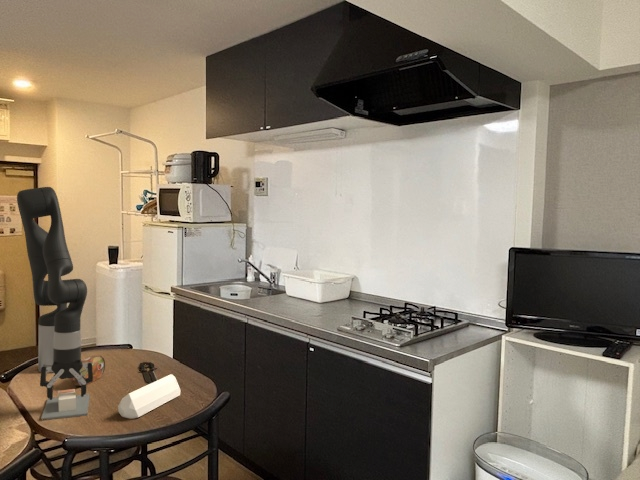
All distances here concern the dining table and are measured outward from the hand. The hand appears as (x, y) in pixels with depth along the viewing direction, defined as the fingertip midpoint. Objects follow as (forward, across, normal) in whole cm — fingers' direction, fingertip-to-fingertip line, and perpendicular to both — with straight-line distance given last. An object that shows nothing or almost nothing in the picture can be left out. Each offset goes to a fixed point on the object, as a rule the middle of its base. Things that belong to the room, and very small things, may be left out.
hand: (67, 397), depth 151 cm
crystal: (+4, +24, -5) cm, 25 cm away
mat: (+3, 0, 0) cm, 3 cm away
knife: (+4, +26, +25) cm, 36 cm away
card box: (+3, 0, 0) cm, 3 cm away
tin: (+3, +5, +22) cm, 23 cm away
